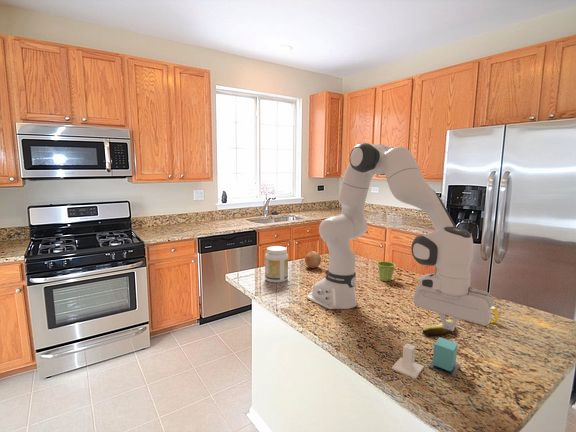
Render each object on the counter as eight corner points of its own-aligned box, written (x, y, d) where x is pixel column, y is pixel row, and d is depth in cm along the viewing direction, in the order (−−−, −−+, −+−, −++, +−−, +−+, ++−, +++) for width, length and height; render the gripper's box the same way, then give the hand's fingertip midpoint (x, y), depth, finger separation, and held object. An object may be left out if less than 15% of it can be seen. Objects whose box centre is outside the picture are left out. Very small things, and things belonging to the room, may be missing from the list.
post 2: (428, 367, 96) (430, 345, 95) (435, 357, 102) (437, 336, 101) (453, 377, 92) (456, 354, 91) (459, 366, 97) (462, 344, 96)
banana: (447, 364, 99) (448, 352, 99) (378, 327, 122) (379, 317, 122) (501, 334, 118) (503, 324, 118) (433, 307, 141) (434, 299, 140)
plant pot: (396, 278, 175) (397, 263, 174) (391, 283, 167) (392, 267, 166) (379, 275, 180) (380, 260, 179) (374, 280, 172) (375, 264, 171)
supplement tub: (280, 274, 179) (281, 244, 177) (292, 280, 169) (292, 249, 167) (261, 277, 173) (261, 246, 171) (271, 284, 163) (272, 252, 160)
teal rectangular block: (432, 364, 96) (434, 343, 95) (437, 357, 100) (439, 337, 99) (451, 371, 93) (453, 350, 92) (455, 363, 97) (457, 343, 96)
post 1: (391, 368, 95) (393, 346, 94) (400, 358, 101) (402, 337, 100) (415, 379, 91) (417, 356, 90) (423, 367, 96) (425, 346, 95)
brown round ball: (316, 271, 186) (316, 254, 184) (301, 268, 191) (301, 251, 190) (323, 267, 194) (324, 251, 192) (309, 264, 199) (309, 248, 198)
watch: (498, 324, 125) (501, 310, 124) (493, 325, 125) (495, 311, 123) (485, 316, 131) (487, 303, 130) (479, 317, 130) (482, 304, 129)
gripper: (496, 289, 89) (491, 336, 91) (420, 273, 102) (417, 315, 104) (492, 296, 84) (487, 345, 86) (413, 278, 97) (409, 321, 99)
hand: (448, 328), depth 95 cm, fingers closed
